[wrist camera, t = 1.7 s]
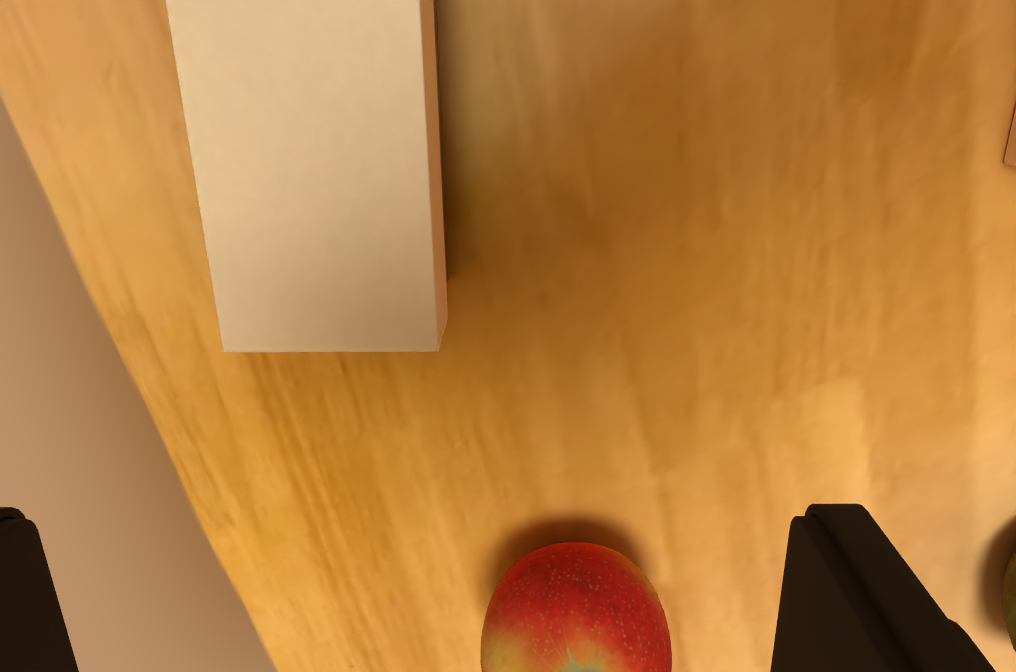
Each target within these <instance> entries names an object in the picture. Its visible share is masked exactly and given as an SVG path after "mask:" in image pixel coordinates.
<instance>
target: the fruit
mask: <svg viewBox="0 0 1016 672" xmlns="http://www.w3.org/2000/svg"><path fill="white" fill-rule="evenodd" d="M1002 603H1003V612H1004V619H1005V622H1006V626H1007V630H1008V633H1009V636H1010V639H1011V642H1012V645H1013V648H1014V650H1015V651H1016V552H1015V553H1014V554H1013V556H1012V558H1011V559H1010V561H1009V563H1008V566H1007V568H1006V572H1005V577H1004V581H1003V587H1002Z"/></svg>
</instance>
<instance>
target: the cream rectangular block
mask: <svg viewBox="0 0 1016 672" xmlns="http://www.w3.org/2000/svg"><path fill="white" fill-rule="evenodd" d="M166 7H167V13H168V19H169V25H170V31H171V37H172V43H173V49H174V55H175V61H176V67H177V74H178V80H179V86H180V92H181V98H182V104H183V110H184V116H185V122H186V128H187V134H188V141H189V147H190V153H191V159H192V165H193V171H194V177H195V183H196V189H197V195H198V202H199V208H200V214H201V220H202V226H203V232H204V238H205V244H206V250H207V256H208V262H209V269H210V275H211V281H212V287H213V293H214V299H215V305H216V311H217V317H218V323H219V329H220V336H221V342H222V348H223V352H437V351H438V350H439V347H440V344H441V340H442V337H443V334H444V331H445V328H446V324H447V321H448V309H447V288H446V266H445V244H444V223H443V201H442V179H441V158H440V136H439V114H438V93H437V71H436V49H435V28H434V6H433V0H166Z"/></svg>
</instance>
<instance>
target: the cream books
mask: <svg viewBox="0 0 1016 672" xmlns="http://www.w3.org/2000/svg"><path fill="white" fill-rule="evenodd" d="M1004 163H1005V164H1009V165H1013V166H1016V108H1015V113H1014V118H1013V122H1012V127H1011V131H1010V136H1009V140H1008V145H1007V149H1006V154H1005V158H1004Z"/></svg>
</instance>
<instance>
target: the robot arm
mask: <svg viewBox="0 0 1016 672" xmlns="http://www.w3.org/2000/svg"><path fill="white" fill-rule="evenodd" d="M0 672H79V671H78V667H77V664H76V660H75V657H74V653H73V650H72V647H71V643H70V640H69V636H68V633H67V629H66V626H65V623H64V619H63V615H62V612H61V609H60V605H59V602H58V598H57V595H56V591H55V588H54V584H53V581H52V577H51V574H50V571H49V567H48V564H47V560H46V557H45V553H44V550H43V546H42V543H41V539H40V536H39V533H38V529H37V528H36V525H35V524H34V523H33V522H32V521H31V520H28V519H26V518H25V516H24V514H23V513H22V512H21V511H20V510H19V509H15V508H12V507H0ZM770 672H996V671H995V670H994V668H993V667H992V666H991V664H990V663H989V662H988V660H987V659H986V658H985V657H984V655H983V654H982V653H981V651H980V650H979V649H978V647H977V646H976V645H975V643H974V642H973V641H972V639H971V638H970V637H969V635H968V634H967V633H966V632H965V631H964V630H963V629H962V628H961V627H960V626H959V625H958V624H957V623H956V622H954V621H952V620H950V619H948V618H947V617H946V616H945V614H944V613H943V612H942V610H941V609H940V608H939V606H938V605H937V604H936V602H935V601H934V600H933V598H932V597H931V596H930V594H929V593H928V591H927V590H926V589H925V587H924V586H923V585H922V583H921V582H920V581H919V579H918V578H917V577H916V575H915V574H914V573H913V571H912V570H911V569H910V567H909V566H908V565H907V563H906V562H905V561H904V559H903V558H902V557H901V555H900V554H899V553H898V551H897V550H896V549H895V547H894V546H893V545H892V543H891V542H890V541H889V539H888V538H887V537H886V535H885V534H884V532H883V531H882V530H881V528H880V527H879V526H878V524H877V523H876V522H875V520H874V519H873V518H872V516H871V515H870V514H869V512H868V511H867V510H866V509H865V508H864V507H863V506H862V505H860V504H811V505H810V506H808V508H807V510H806V512H805V516H795V517H794V518H793V519H792V521H791V525H790V531H789V538H788V546H787V553H786V560H785V568H784V575H783V583H782V590H781V597H780V605H779V612H778V620H777V627H776V634H775V642H774V649H773V657H772V664H771V671H770Z"/></svg>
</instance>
